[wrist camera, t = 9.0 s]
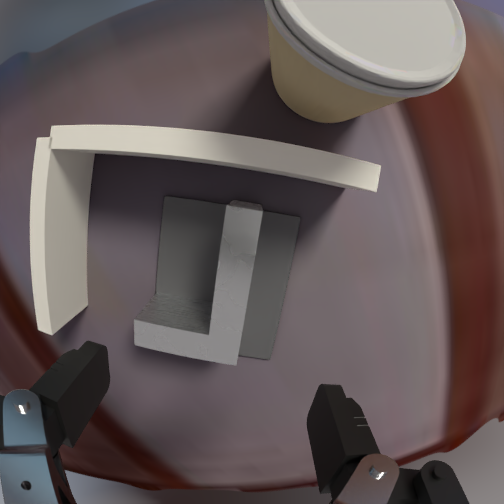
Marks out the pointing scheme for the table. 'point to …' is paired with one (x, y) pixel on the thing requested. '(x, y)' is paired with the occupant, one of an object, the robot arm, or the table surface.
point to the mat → (206, 263)
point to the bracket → (207, 313)
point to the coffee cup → (361, 53)
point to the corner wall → (146, 145)
